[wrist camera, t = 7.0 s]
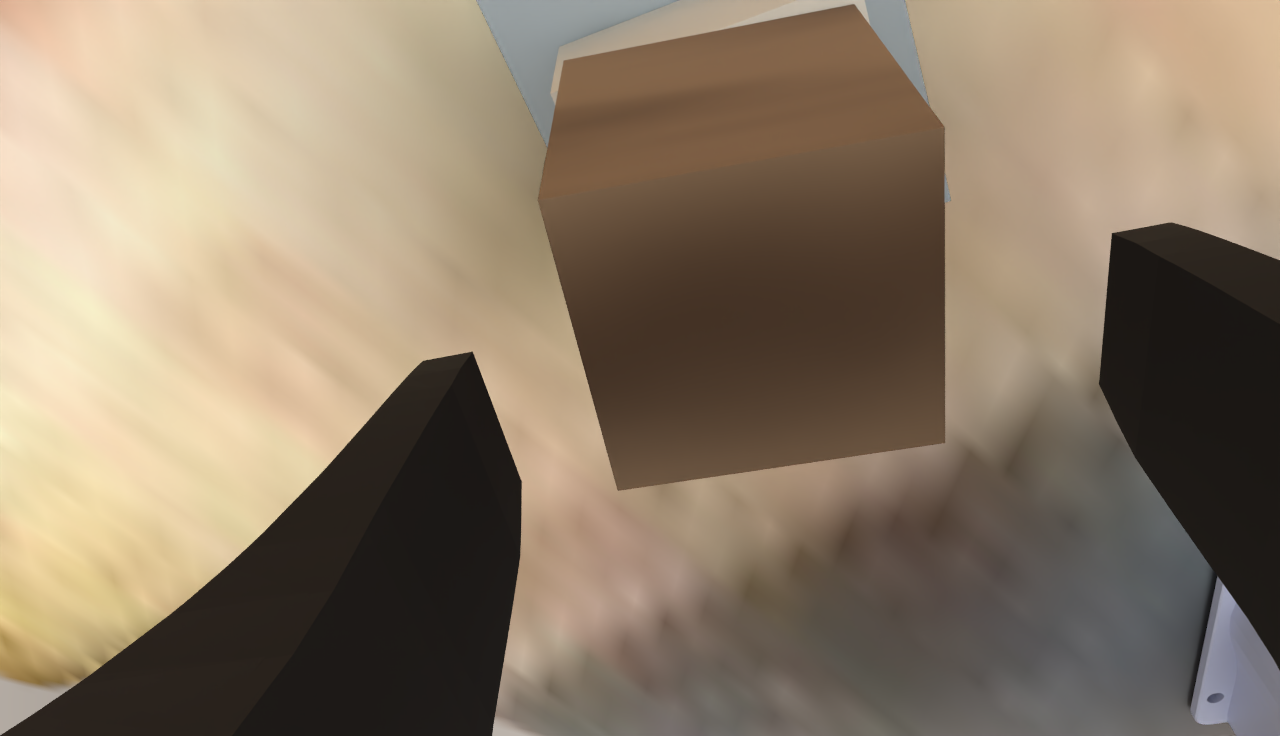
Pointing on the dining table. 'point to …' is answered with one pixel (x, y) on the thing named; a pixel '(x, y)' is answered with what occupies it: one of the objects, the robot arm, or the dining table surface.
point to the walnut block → (751, 247)
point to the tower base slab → (587, 3)
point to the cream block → (688, 24)
